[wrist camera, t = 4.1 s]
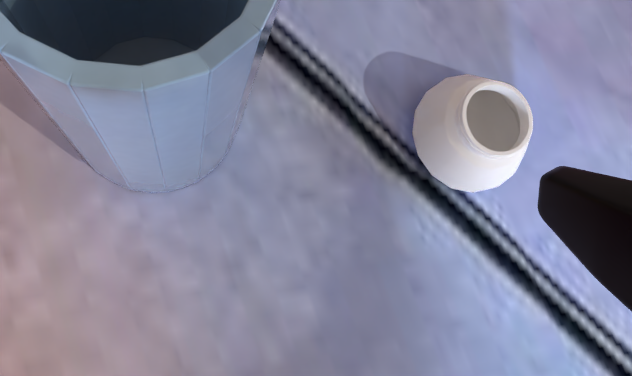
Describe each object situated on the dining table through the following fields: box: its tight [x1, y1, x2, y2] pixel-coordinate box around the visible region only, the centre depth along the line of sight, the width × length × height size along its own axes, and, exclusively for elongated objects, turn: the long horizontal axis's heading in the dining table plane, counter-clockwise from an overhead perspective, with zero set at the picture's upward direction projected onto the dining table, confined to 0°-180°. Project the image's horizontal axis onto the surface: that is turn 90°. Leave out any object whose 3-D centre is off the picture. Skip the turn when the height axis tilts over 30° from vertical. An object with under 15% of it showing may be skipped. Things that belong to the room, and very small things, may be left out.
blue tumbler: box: [0, 0, 281, 193], centre depth 17 cm, size 6×6×12 cm
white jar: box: [412, 74, 533, 193], centre depth 24 cm, size 5×3×5 cm
